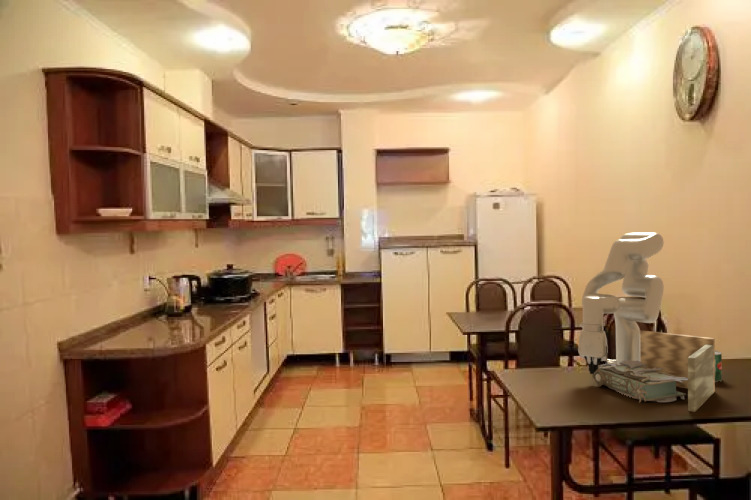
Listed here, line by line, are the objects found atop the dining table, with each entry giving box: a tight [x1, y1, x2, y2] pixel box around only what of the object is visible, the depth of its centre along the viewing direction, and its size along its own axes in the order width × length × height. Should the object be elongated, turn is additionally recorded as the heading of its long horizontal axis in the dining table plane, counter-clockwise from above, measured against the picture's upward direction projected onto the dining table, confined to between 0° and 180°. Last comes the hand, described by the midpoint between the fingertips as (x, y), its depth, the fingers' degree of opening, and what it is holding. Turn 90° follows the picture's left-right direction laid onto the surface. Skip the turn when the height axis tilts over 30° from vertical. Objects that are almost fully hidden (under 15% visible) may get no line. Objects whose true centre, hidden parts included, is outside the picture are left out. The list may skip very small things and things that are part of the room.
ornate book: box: [591, 360, 688, 404], centre depth 194 cm, size 23×10×30 cm
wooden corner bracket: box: [640, 330, 716, 413], centre depth 190 cm, size 25×28×20 cm
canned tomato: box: [715, 350, 723, 383], centre depth 207 cm, size 8×8×11 cm
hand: (593, 373), depth 205 cm, fingers closed
